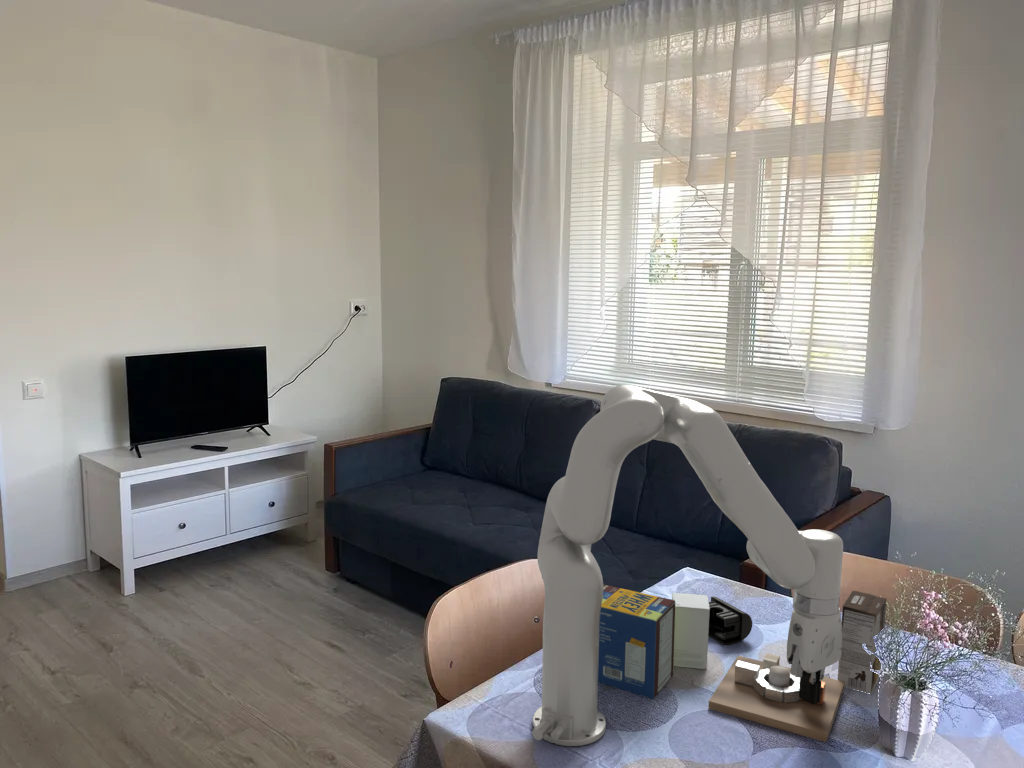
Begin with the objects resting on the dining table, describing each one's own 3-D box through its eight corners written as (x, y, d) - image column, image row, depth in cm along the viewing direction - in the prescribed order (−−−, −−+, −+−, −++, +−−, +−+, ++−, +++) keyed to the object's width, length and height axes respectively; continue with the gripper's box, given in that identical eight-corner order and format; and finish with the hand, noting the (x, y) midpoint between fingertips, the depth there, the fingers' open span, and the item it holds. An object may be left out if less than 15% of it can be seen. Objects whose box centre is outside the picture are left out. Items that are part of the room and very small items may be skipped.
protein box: (601, 655, 162) (603, 583, 160) (673, 676, 155) (677, 600, 152) (578, 677, 154) (580, 601, 151) (654, 700, 146) (657, 620, 144)
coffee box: (847, 666, 159) (852, 589, 157) (881, 676, 155) (888, 597, 153) (835, 685, 152) (841, 604, 149) (871, 696, 148) (878, 613, 146)
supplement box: (707, 670, 157) (710, 609, 155) (669, 666, 158) (671, 606, 157) (706, 652, 164) (708, 594, 162) (669, 649, 166) (671, 591, 164)
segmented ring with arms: (729, 688, 147) (730, 672, 146) (741, 669, 154) (742, 653, 153) (819, 712, 139) (820, 695, 138) (827, 691, 146) (828, 675, 146)
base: (826, 742, 133) (828, 711, 132) (708, 708, 143) (709, 679, 142) (844, 689, 150) (846, 661, 149) (737, 662, 160) (739, 636, 159)
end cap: (752, 641, 170) (753, 611, 169) (726, 647, 167) (727, 617, 166) (720, 622, 179) (721, 593, 178) (695, 628, 175) (696, 599, 174)
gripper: (808, 619, 131) (802, 723, 134) (860, 599, 140) (853, 697, 142) (770, 604, 137) (764, 703, 140) (822, 585, 146) (816, 679, 148)
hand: (809, 699), depth 141 cm, fingers closed
